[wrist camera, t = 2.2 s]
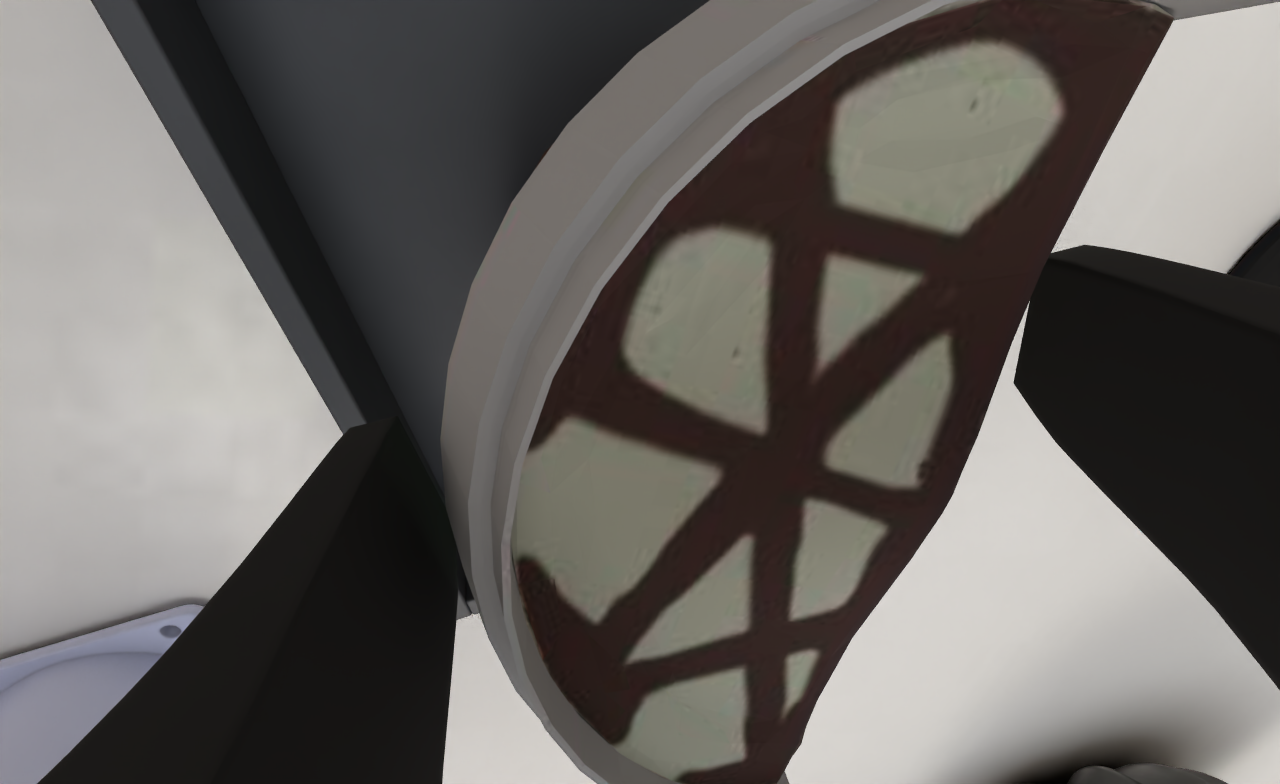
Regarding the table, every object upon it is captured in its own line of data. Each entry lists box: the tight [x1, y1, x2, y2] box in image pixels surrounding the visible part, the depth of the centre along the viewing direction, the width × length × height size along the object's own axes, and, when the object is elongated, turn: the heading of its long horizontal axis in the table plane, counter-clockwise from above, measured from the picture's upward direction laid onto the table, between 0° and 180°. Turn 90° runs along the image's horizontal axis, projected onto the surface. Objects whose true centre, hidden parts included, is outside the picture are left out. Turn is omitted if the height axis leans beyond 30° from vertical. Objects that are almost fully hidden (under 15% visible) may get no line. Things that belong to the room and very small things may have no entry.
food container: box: [440, 0, 1280, 784], centre depth 11 cm, size 12×6×10 cm, turn 161°
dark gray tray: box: [91, 0, 710, 620], centre depth 15 cm, size 12×17×3 cm
